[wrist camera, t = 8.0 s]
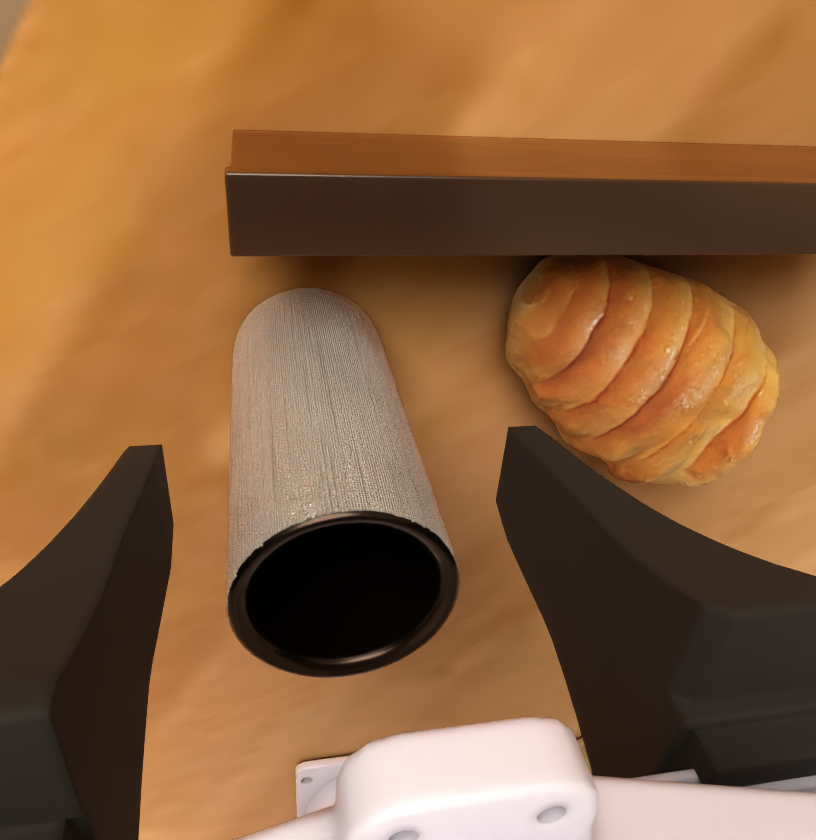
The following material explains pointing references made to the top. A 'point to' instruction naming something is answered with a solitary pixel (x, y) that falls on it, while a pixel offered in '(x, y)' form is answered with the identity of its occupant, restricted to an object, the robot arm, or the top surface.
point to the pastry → (642, 367)
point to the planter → (328, 496)
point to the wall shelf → (514, 196)
